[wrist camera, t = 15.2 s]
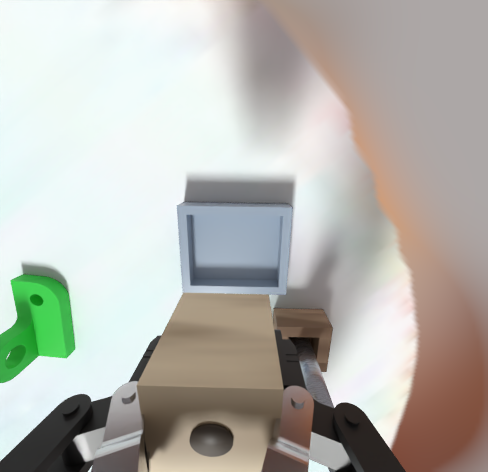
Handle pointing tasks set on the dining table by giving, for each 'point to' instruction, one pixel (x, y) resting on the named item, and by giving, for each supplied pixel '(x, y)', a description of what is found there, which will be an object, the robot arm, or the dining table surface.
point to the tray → (234, 247)
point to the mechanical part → (36, 325)
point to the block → (212, 385)
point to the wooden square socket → (306, 329)
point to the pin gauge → (311, 371)
